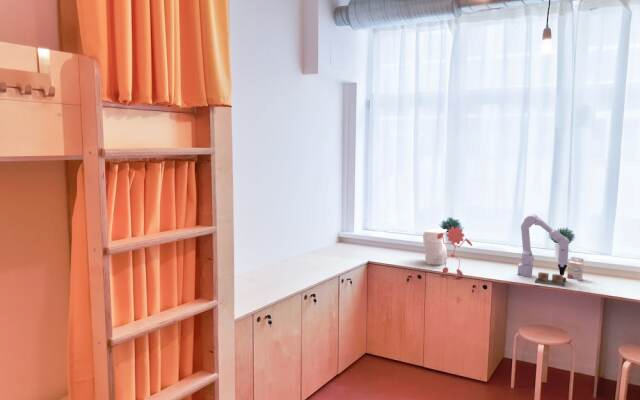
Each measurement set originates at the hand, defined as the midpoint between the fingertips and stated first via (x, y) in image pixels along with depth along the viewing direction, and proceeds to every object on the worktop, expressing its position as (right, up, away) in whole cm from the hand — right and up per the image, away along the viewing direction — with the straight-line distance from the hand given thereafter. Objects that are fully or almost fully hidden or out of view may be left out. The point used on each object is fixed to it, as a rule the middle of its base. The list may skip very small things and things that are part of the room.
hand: (561, 275), depth 330 cm
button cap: (0, -4, 0) cm, 4 cm away
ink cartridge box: (+14, -4, +10) cm, 18 cm away
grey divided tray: (-11, -5, -5) cm, 13 cm away
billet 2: (-7, -5, -8) cm, 11 cm away
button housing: (0, -5, 0) cm, 5 cm away
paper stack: (-76, +1, +52) cm, 92 cm away
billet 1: (-14, -4, -4) cm, 15 cm away
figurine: (-69, -3, +15) cm, 71 cm away
